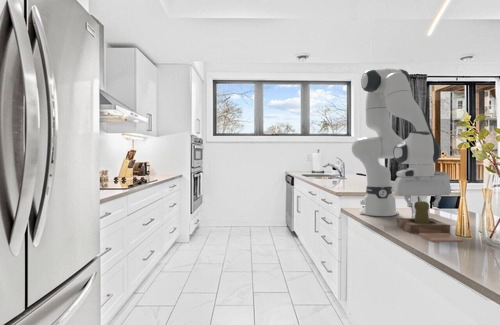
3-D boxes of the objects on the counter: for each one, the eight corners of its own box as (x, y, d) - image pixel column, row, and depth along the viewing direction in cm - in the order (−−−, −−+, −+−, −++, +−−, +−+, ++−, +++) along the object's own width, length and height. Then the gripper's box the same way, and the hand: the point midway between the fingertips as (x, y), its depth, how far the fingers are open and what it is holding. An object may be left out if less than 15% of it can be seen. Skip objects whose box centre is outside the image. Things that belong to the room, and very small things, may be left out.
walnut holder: (397, 225, 133) (397, 218, 133) (432, 225, 132) (431, 218, 132) (410, 233, 119) (410, 225, 119) (450, 233, 118) (450, 225, 118)
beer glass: (430, 221, 139) (430, 187, 139) (423, 223, 135) (422, 188, 135) (414, 219, 145) (413, 186, 145) (406, 221, 141) (406, 187, 140)
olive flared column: (433, 231, 122) (432, 202, 122) (416, 230, 123) (415, 202, 123) (427, 227, 128) (427, 200, 128) (411, 227, 129) (411, 200, 129)
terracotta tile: (418, 234, 117) (418, 232, 117) (447, 234, 116) (447, 232, 116) (431, 241, 107) (431, 239, 107) (462, 241, 106) (462, 239, 106)
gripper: (445, 171, 127) (446, 205, 127) (392, 172, 129) (393, 206, 129) (453, 171, 121) (454, 207, 121) (398, 172, 123) (399, 208, 123)
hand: (422, 207), depth 125 cm, fingers open, 8 cm apart
